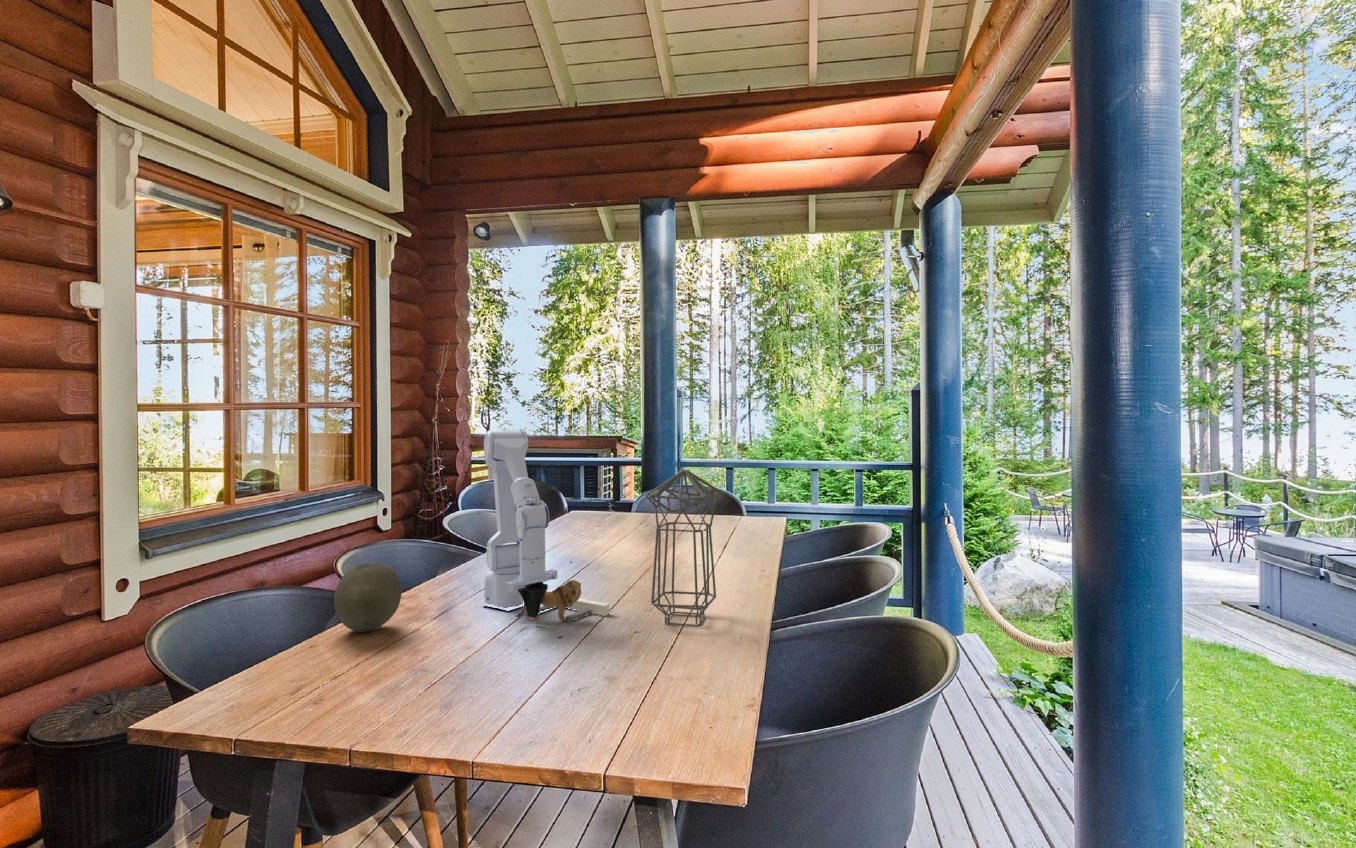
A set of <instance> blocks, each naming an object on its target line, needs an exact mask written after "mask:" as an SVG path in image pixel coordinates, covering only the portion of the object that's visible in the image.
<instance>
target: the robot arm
mask: <svg viewBox="0 0 1356 848" xmlns="http://www.w3.org/2000/svg"><path fill="white" fill-rule="evenodd" d="M528 448H529V437H528V435H527V433H526V432H525V430H511V431H510V430H508V431H505V430H503V431H497V430H496V431H495V430H493V431H492V430H488V431H487V432H486V433H485V434H484V439H483V453H484V461H485V465H486V466H489V467H490V468H491V470H492V476H493V487H494V488H493V489H494V500H495V501H494V502H495V513H496V514H495V517H496V531H497V532H496V533H495V534H494V535H492V537H490V538H489V540H488V541H487V543H486V557H485V558H486V566H487V568H488V570H490V571H488V572H487V574H486V576H485V577H484V604H485V603H487V604H493V605H495V606H498V607H503V608H508V607H513V606H519V605H521V604H523V602H524V603H525V606H526V610H527V614H528V617H527V618H532V619H533V618H535V617H538V613H539V609H540V607H541V606H542V604H541V602H542V599H543V596H544V594H545V592H548V591H547V590H549V587H548V586H549V585H548V583H547V584H546V582H548V581H552V580H558V570H556V569H549V570H546V529H547V528H548V527H549V525H550V512H549V508H548V505H547V504H546V502H544V500H543V499H541V498H540V495H539V492H538V489H537V485H536V483H535V480H534V479H532V478H530V477H529V475H528V470H527V465H526V459H525V458H526V455H527V451H528ZM544 582H545V583H544ZM538 618H539V617H538Z"/></svg>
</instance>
